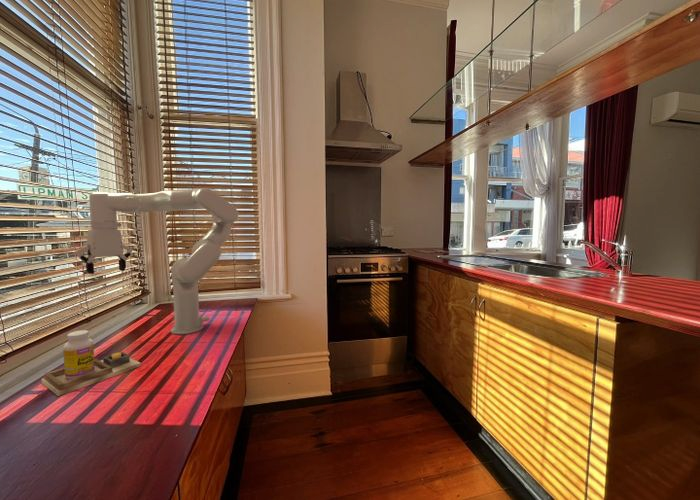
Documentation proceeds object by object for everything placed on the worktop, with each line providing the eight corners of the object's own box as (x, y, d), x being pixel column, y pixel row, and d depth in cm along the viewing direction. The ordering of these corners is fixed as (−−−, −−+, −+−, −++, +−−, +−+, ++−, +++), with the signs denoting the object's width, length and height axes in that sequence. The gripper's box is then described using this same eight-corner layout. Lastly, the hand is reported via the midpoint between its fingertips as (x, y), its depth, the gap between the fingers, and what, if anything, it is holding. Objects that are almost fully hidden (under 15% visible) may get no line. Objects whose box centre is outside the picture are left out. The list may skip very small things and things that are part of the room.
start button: (119, 359, 99) (118, 352, 99) (122, 361, 98) (122, 353, 98) (110, 362, 97) (110, 354, 97) (114, 364, 96) (113, 356, 95)
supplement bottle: (77, 381, 85) (74, 337, 84) (58, 379, 87) (55, 336, 86) (100, 370, 92) (98, 329, 91) (83, 368, 93) (80, 328, 92)
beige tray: (121, 357, 104) (121, 347, 104) (140, 366, 98) (140, 356, 97) (41, 383, 87) (40, 371, 87) (58, 396, 80) (57, 383, 80)
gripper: (126, 226, 120) (128, 268, 122) (69, 226, 105) (73, 274, 107) (135, 226, 116) (137, 269, 118) (78, 226, 102) (81, 276, 103)
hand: (107, 271), depth 112 cm, fingers open, 9 cm apart
